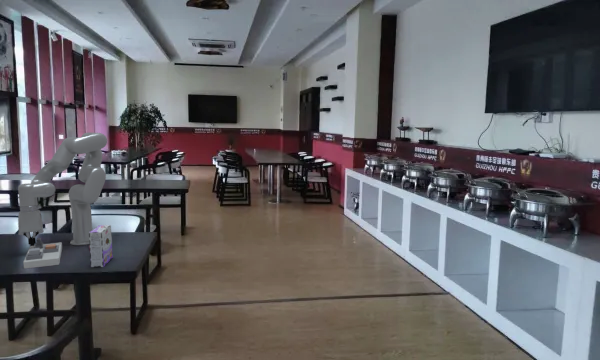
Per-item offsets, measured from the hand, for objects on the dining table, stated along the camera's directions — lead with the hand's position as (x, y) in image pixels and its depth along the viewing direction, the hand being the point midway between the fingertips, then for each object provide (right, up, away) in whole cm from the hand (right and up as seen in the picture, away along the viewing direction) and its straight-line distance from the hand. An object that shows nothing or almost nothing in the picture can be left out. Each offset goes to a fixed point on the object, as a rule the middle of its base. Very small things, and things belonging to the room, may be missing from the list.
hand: (32, 245), depth 226 cm
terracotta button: (+12, -2, -4) cm, 13 cm away
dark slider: (+3, -1, +1) cm, 3 cm away
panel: (+9, -5, -5) cm, 12 cm away
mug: (+33, -5, 0) cm, 33 cm away
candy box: (+40, -6, -13) cm, 42 cm away
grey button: (+10, -2, -15) cm, 18 cm away
